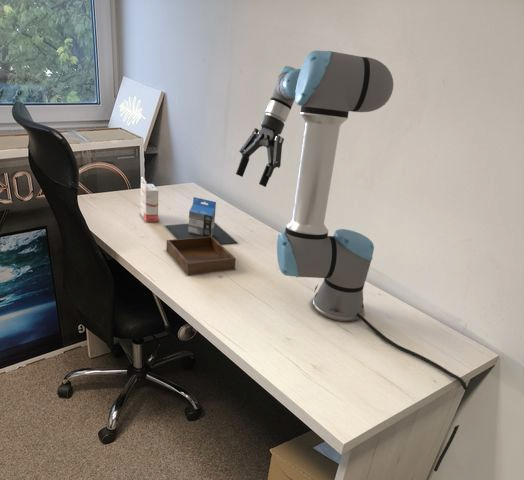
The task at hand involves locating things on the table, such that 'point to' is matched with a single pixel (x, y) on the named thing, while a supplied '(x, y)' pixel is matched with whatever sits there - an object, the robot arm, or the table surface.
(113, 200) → the table surface
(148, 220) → the ink cartridge box
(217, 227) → the mat
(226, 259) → the wooden tray
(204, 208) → the blue gray retail box
